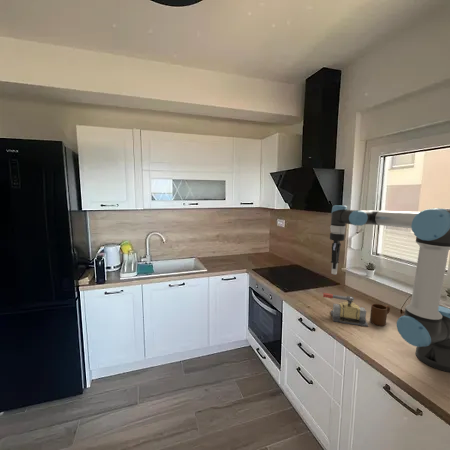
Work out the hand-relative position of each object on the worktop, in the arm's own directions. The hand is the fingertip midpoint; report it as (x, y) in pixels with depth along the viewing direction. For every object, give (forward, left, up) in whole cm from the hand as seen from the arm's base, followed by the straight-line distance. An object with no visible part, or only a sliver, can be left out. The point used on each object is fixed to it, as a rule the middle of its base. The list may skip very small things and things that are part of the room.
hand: (334, 273), depth 146 cm
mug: (-1, -26, -25) cm, 35 cm away
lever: (-2, -3, -13) cm, 14 cm away
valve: (-3, -9, -24) cm, 26 cm away
